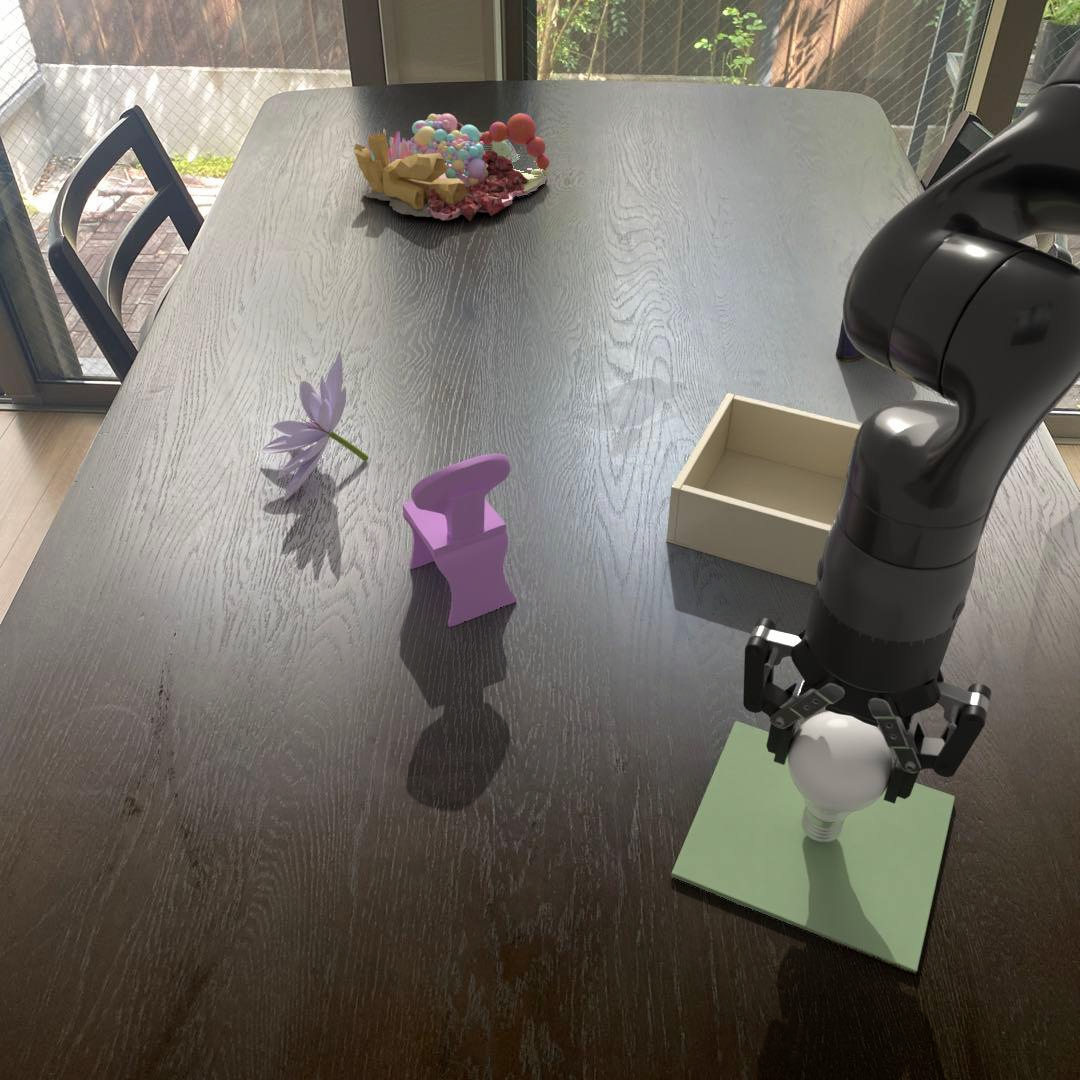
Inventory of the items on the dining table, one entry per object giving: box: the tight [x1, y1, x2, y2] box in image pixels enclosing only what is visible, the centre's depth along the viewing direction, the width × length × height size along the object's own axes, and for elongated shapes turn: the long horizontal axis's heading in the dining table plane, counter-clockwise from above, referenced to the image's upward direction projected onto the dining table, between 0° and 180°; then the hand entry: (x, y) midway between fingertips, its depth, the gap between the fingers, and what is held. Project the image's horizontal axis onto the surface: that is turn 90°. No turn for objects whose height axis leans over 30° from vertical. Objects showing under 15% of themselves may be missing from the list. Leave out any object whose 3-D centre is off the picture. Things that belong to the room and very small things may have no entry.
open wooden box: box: [665, 392, 862, 587], centre depth 97 cm, size 16×16×6 cm
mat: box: [670, 720, 956, 972], centre depth 74 cm, size 16×14×1 cm
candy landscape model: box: [352, 112, 550, 222], centre depth 149 cm, size 25×24×9 cm
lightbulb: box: [788, 710, 893, 843], centre depth 70 cm, size 6×6×11 cm
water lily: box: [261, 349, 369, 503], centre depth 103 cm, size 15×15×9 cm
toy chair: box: [401, 453, 518, 628], centre depth 88 cm, size 8×9×15 cm
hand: (836, 771), depth 69 cm, fingers closed on lightbulb, 6 cm apart
